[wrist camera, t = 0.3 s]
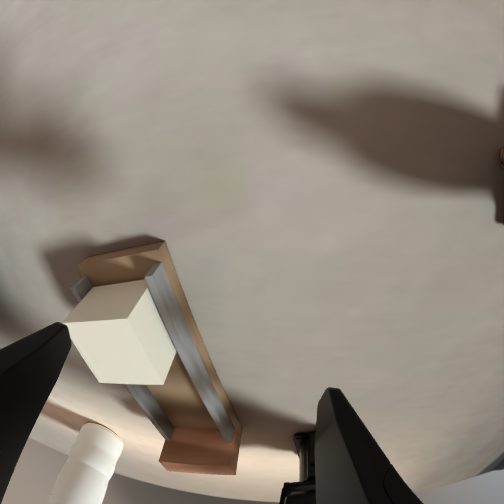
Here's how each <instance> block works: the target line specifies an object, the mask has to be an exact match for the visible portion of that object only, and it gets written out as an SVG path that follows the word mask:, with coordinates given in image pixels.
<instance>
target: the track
mask: <svg viewBox="0 0 504 504" xmlns="http://www.w3.org/2000/svg"><path fill="white" fill-rule="evenodd" d="M77 267H78V270H79V272H80V274H81V276H82V277H81V278H80V279H79V280H78V281H77V282H76V283H75V284H74V285H73V286H72V287H71V288H70V289H71V291H72V293H73V295H74V297H75V299H76V301H77V303H78V304H79V303H80V301H81V300H82V299H83V298H84V297H85V296H86V295H87V294H88V292H89V291H90V290H91V289H92V288H93V287H98V286H105V285H111V284H118V283H124V282H131V281H137V280H144V279H145V280H146V282H147V284H148V287H149V289H150V292H151V294H152V296H153V299H154V301H155V303H156V306H157V308H158V310H159V312H160V315H161V317H162V319H163V321H164V324H165V326H166V328H167V330H168V332H169V335H170V337H171V339H172V341H173V343H174V345H175V347H176V349H177V351H176V354H175V356H174V359H173V361H172V364H171V367H170V369H169V372H168V374H167V377H166V379H165V382H164V385H140V384H125V385H126V387H127V388H128V390H129V391H130V393H131V394H132V395H133V397H134V398H135V400H136V401H137V403H138V404H139V405H140V407H141V408H142V410H143V411H144V412H145V414H146V415H147V416H148V418H149V419H150V420H151V422H152V423H153V424H154V426H155V427H156V428H157V430H158V431H159V432H160V433H161V435H162V436H163V437H164V439H165V443H164V446H163V449H162V452H161V456H160V459H159V462H160V463H161V464H162V465H163V466H164V467H165V468H166V469H167V470H168V471H176V472H186V473H199V474H217V475H236V469H237V461H238V454H239V447H240V440H241V432H242V427H241V425H240V423H239V421H238V419H237V417H236V415H235V413H234V410H233V408H232V406H231V404H230V402H229V400H228V397H227V395H226V393H225V391H224V389H223V386H222V384H221V382H220V380H219V377H218V375H217V373H216V371H215V368H214V366H213V364H212V361H211V359H210V357H209V354H208V352H207V350H206V347H205V345H204V342H203V340H202V337H201V335H200V333H199V330H198V328H197V325H196V323H195V320H194V318H193V315H192V313H191V310H190V307H189V305H188V302H187V300H186V297H185V294H184V292H183V289H182V286H181V284H180V281H179V278H178V276H177V273H176V270H175V267H174V265H173V262H172V259H171V256H170V253H169V250H168V248H167V245H166V242H165V241H162V242H158V243H153V244H148V245H143V246H138V247H133V248H129V249H124V250H119V251H114V252H110V253H105V254H100V255H96V256H91V257H87V258H85V259H84V260H83V261H82V262H80V263H79V264H78V265H77Z"/></svg>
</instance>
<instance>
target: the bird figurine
mask: <svg viewBox="0 0 504 504" xmlns="http://www.w3.org/2000/svg"><path fill="white" fill-rule="evenodd" d="M500 157H501V161H502V164H501V165H500V167H501V168H503V169H504V147H502V148H501V151H500Z"/></svg>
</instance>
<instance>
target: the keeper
mask: <svg viewBox="0 0 504 504" xmlns="http://www.w3.org/2000/svg"><path fill="white" fill-rule="evenodd" d="M62 324H65V325H67V326H68V329H69V333H70V338H71V339H72V341H73V343H74V344H75V346H76V348H77V349H78V351H79V352H80V354H81V356H82V357H83V359H84V360H85V362H86V363H87V365H88V366H89V368H90V369H91V371H92V372H93V374H94V375H95V377H96V378H97V380H98V381H99V383H114V384H140V385H164V382H165V379H166V377H167V374H168V372H169V369H170V367H171V364H172V361H173V359H174V356H175V354H176V351H177V349H176V347H175V345H174V343H173V341H172V339H171V337H170V335H169V332H168V330H167V328H166V326H165V324H164V321H163V319H162V317H161V315H160V312H159V310H158V308H157V306H156V303H155V301H154V299H153V296H152V294H151V292H150V289H149V287H148V284H147V282H146V280H145V279H144V280H137V281H131V282H124V283H118V284H111V285H105V286H98V287H93V288H92V289H91V290H90V291H89V292H88V294H87V295H86V296H85V297H84V298H83V299H82V300H81V301H80V303H79V304H78V305H77V306H76V307H75V308H74V310H73V311H72V312H71V313H70V314H69V315H68V317H67V318H66V319H65V320H64V321H63V323H62Z"/></svg>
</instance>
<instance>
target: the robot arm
mask: <svg viewBox="0 0 504 504" xmlns="http://www.w3.org/2000/svg"><path fill="white" fill-rule="evenodd" d="M70 348H71V338H70V333H69V329H68V326H67V325H65V324H62V323H60V322H56V323H54V324H52V325H50V326H48V327H46V328H43V329H41V330H39V331H37V332H35V333H33V334H31V335H29V336H27V337H25V338H23V339H21V340H19V341H17V342H15V343H12V344H10V345H8V346H6V347H4V348H2V349H0V504H1V502H2V500H3V497H4V494H5V492H6V489H7V486H8V484H9V481H10V478H11V476H12V474H13V472H14V469H15V466H16V464H17V462H18V459H19V457H20V455H21V452H22V450H23V448H24V446H25V444H26V441H27V439H28V437H29V435H30V433H31V431H32V429H33V427H34V425H35V422H36V420H37V418H38V416H39V414H40V412H41V410H42V408H43V406H44V404H45V403H46V401H47V399H48V397H49V395H50V393H51V391H52V389H53V387H54V385H55V383H56V381H57V379H58V377H59V375H60V372H61V370H62V367H63V365H64V362H65V360H66V358H67V355H68V353H69V351H70ZM294 442H295V445H296V449H297V453H298V456H299V458H300V479H299V482H293V483H289V482H286V483H284V486H283V488H282V492H281V498H280V503H279V504H423V503H422V502H421V501H420V499H419V498H418V497H417V496H416V495H415V494H414V493H413V492H412V490H411V489H410V488H409V487H408V486H407V484H406V483H405V482H404V481H403V479H402V478H401V477H400V475H399V474H398V473H397V471H396V470H395V468H394V467H393V465H392V464H390V461H389V460H388V458H387V457H386V455H385V454H384V452H383V451H382V450H381V448H380V447H379V445H378V444H377V442H376V441H375V439H374V438H373V437H372V435H371V434H370V432H369V431H368V429H367V428H366V426H365V425H364V423H363V422H362V421H361V419H360V418H359V416H358V415H357V413H356V412H355V410H354V409H353V407H352V406H351V405H350V403H349V402H348V400H347V399H346V397H345V396H344V394H343V393H342V391H341V390H340V389H338V388H331V387H328V388H327V389H326V390H325V392H324V394H323V395H322V397H321V399H320V401H319V403H318V408H317V422H316V432H307V433H298V434H294Z"/></svg>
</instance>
